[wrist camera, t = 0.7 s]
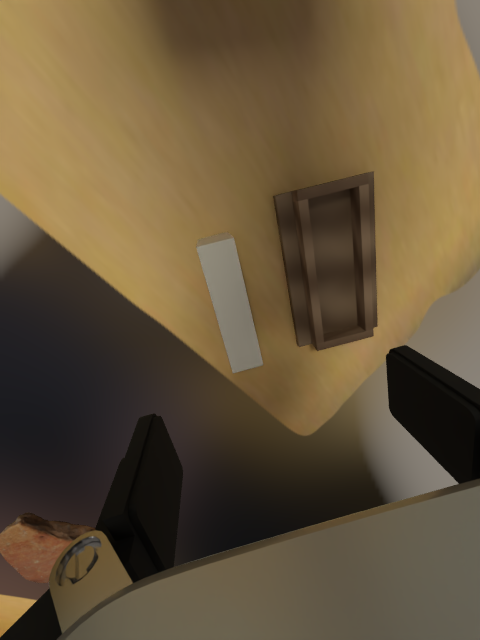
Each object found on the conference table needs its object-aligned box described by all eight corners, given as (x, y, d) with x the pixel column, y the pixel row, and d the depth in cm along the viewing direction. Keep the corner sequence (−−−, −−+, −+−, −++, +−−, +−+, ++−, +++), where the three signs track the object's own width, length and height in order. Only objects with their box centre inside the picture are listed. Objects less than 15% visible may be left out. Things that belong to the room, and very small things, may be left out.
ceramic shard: (59, 523, 38) (122, 557, 46) (70, 480, 44) (124, 517, 52) (-41, 578, 37) (40, 604, 45) (-17, 527, 43) (52, 558, 51)
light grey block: (197, 239, 31) (196, 247, 25) (227, 231, 31) (233, 237, 25) (227, 344, 37) (232, 373, 30) (253, 337, 37) (263, 365, 30)
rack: (273, 196, 30) (280, 194, 27) (368, 172, 30) (384, 168, 28) (297, 343, 38) (304, 354, 35) (373, 323, 38) (386, 332, 35)
